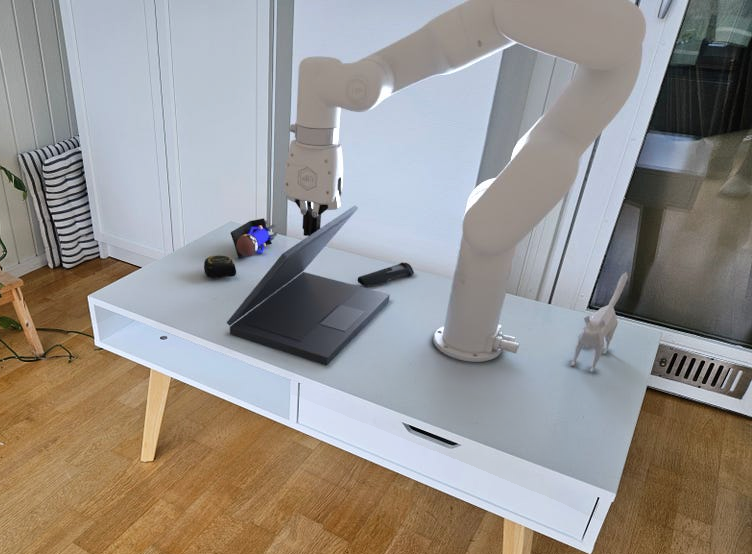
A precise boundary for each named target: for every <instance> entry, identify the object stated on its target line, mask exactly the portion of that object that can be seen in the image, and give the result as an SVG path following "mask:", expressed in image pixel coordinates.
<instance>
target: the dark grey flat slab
mask: <svg viewBox="0 0 752 554" xmlns="http://www.w3.org/2000/svg"><path fill="white" fill-rule="evenodd" d="M390 295H391V294H390V293H386V292H382V291H379V290H375V289H371V288H367V287H364V286H359V285H356V284H352V283H347V282H344V281H340V280H336V279H332V278H329V277H326V276H325V277H324V276H320V275H317V274H313V273H309V272H305V271H303V272H301V273H300V274H299V275H297V276H296V277H295V278H293V279H292V280H291V281H289V282H288V283H287V284H285V285H284V286H283V287H281V288H280V289H279V290H277V291H276V292H275V293H273V294H272V295H271V296H269V297H268V298H267V299H265V300H264V301H262V302H261V303H260V304H258V305H257V306H256V307H254V308H253V309H252V310H250V311H249V312H248V313H246V314H245V315H244V316H242V317H241V318H240V319H238V320H237V321H236V322H234V323H233V324H232V325H230V326H229V335H230V336H233V337H236V338H240V339H241V340H246V341H248V342H252V343H253V344H254V343H255V344H258V345H261V346H263V347H267V348H270V349H273V350H275V351H279V352H282V353H285V354H288V355H292V356H294V357H298V358H301V359H304V360H307V361H310V362H313V363H316V364H318V365H322V366H325V367H327V366H329V364H330V363H331V362H333V360H334V359H335V358H336V357H337V356H339V354H340V353H341V352H342V351H343V350H344V349H345V348H346V347H347V345H349V344H350V343H351V342H352V340H353V339H354V338H355V337H356V336H357V335H358V334H359V333H360V332H361V331H362V330H363V329H364V328H365V327H366V326H367V325H368V324H369V323H370V322H371V321H372V320H373V319H374V318H375V317H376V316H377V315H378V314H379V312H381V311H382V309H384V307H385V306H386V305H387V304H388V303H389V302H390V298H391V297H390Z"/></svg>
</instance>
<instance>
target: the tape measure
mask: <svg viewBox="0 0 752 554" xmlns="http://www.w3.org/2000/svg"><path fill="white" fill-rule="evenodd" d="M203 271H204V274H205V275H206V277H207V278H208V279H223V278H230V277H235V276H236V275H237V268H236V265H235V263H234V261H233V259H232V258H231V257H229V256H227V255H223V254H217V255H211V256H208V257H206V258H205V260H204V262H203Z"/></svg>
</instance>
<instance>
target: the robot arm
mask: <svg viewBox="0 0 752 554" xmlns="http://www.w3.org/2000/svg"><path fill="white" fill-rule="evenodd" d="M646 33H647V23H646V18H645V15H644V13H643V11H642V10H641V8H639V6H638V5H637V4H636V3H634V2H632V1H631V0H466V1H464V2H462V3H460V4H459V5H456V6H454V7H452V8H450V9H449V10H446V11H444V12H443V13H441V14H438V15H437V16H435V17H434V18H432V19H431V20H429V21H428V22H426V23H425V24H424V25H422V27H420V28H418V29H417V30H415V31H414V32H412V33H410V34H408V35H406V36H405V37H402V38H400V39H398V40H397V41H395V42H393V43H391V44H389V45H386V46H385V47H383V48H381V49H379V50H377V51H375V52H373V53H371V54H368V55H367V56H365V57H363V58H361V59H359V60H357V61H353V62H348V63H347V62H346V63H343V62H342V61H341V60H340V59H338V58H336V57H332V56H308V57H305V58H302V60H301V61H300V62H299V65H298V71H297V72H298V74H297V93H296V95H297V97H296V98H297V100H296V119H295V120H296V121H295V123H294V124H293V123H292V124H290V125H289V132H290V133H293V134H294V139H292V140H290V144H289V148H288V153H287V157H286V162H285V172H284V180H283V192H284V194H285V195H286V199H287V200H288V201H290V202H292V203H294V204H296V205H297V207H298V208H299V210H300V214H301V215H302V230H303V236H305V237H308V236H310V235H311V234H313V233H314V232H316V231H317V230H319V229H320V228H321V221H322V214H324V213H325V212H326V211H334V210H337V209H338V210H339V208H340V207H341V198H342V197H341V196H342V194H343V185H344V184H343V182H344V161H343V160H344V159H343V151H342V144H341V143H339V136H340V124H341V123H340V122H341V112H342V111H341V110H346V111H350V112H354V113H364V112H365V113H366V112H369V111H371V110H372V109H374V108H375V107H377V106H378V105H379V104H380V103H381V102H382V101H384V100H385V99H387V98H389V97H390V96H392V95H395V94H396V93H398V92H400V91H402V90H404V89H407V88H409V87H411V86H414V85H415V84H418V83H420V82H422V81H425V80H427V79H429V78H430V79H431V78H432V77H436V76H440V75H441V76H442V75H449V74H453V73H455V72H458V71H461V70H463V69H466V68H467V67H470V66H471V65H473V64H476V63H478V62H479V61H482V60H484V59H486V58H489V57H491V56H493V55H494V54H497V53H499V52H502V51H503V50H506V49H508V48H510V47H512V46H514V45H516V44H518V45H521V46H523V47H526V48H528V49H531V50H534V51H535V52H539V53H542V54H545V55H548V56H551V57H554V58H557V59H560V60H563V61H566V62H567V63H572V64H575V65H577V66H576V69H575V72H574V73H573V76H572V78H571V79H570V80H569V82H568V84H567V85H566V86H565V87H564V88H563V90H562V91H561V92H560V93H559V95H558V96H557V97H556V98H555V100H554V101H553V103H551V105H550V106H549V107H548V108H547V109H546V111H544V113H543V114H542V115H541V116H540V118H538V120H537V121H536V122H535V124H534V125H533V126H532V127H531V128H530V129H529V130H528V131H527V132H526V133H525V134H524V135H523V136H522V137H521V138H520V139H519V140H518V141H517V143H516V145H515V147H514V148H513V151H512V154H511V158H510V161H509V162H508V163H507V164H506V166H505V167H504V168H503V169H502V170H501V171H500V173H498V175H497V176H496V177H494V178H490V179H486V180H485V181H483V182H481V183H480V184H479V185H477V186H476V187H475V189H474V190H473V191H472V192H471V194H470V196H469V197H468V199H467V202H466V205H465V209H464V213H463V216H462V221H461V237H460V242H459V247H458V252H457V256H456V263H455V267H454V271H453V277H452V282H451V288H450V293H449V298H448V304H447V310H446V315H445V319H444V325H443V326H441V327H439V328H438V329H436V330H435V332H434V333H433V338H432V339H433V345H434V346H435V347H436V349H438V350H439V351H440V352H441V353H443V354H444V355H446V356H448V357H450V358H453V359H456V360H459V361H464V362H470V363H480V362H481V363H483V362H489V361H491V360H494V359H496V358H498V356H500V354H501V353H502V351H506V352H509V353H512V354H517V353H518V350H519V348H520V343H519V342H516V337H515V336H512V335H507V334H503V333H504V332H502V331H501V330H502V325H501V324H499V323H500V320H501V316H502V311H503V308H504V303H505V298H506V294H507V290H508V286H509V282H510V278H511V275H512V272H513V271H512V270H513V267H514V263H515V258H516V254H517V249H518V245H519V244H520V243H522V241H523V240H524V239H526V237H527V236H529V234H530V233H531V232H532V231H533V230H534V229H535V228H536V227H537V226H538V225H539V224H540V223H541V222H542V221H543V220H544V218H545V217H547V216H548V214H549V213H550V212H552V210H553V209H554V208H555V207H556V206H557V205H558V204H559V203H560V202H561V201H562V200H563V198H564V197H565V196H566V195H567V194H568V192H569V191H570V190H571V188H572V186H573V185H574V183H575V181H576V179H577V176H578V173H579V162H580V161H579V160H580V158H581V157H582V156H583V154H584V153H585V152H586V151H587V149H588V148H589V147H590V146H591V145H592V144H593V143H594V142H595V141H596V140H597V138H598V137H600V135H601V133H602V132H603V131H604V130H605V129H606V128H607V127H608V125H610V123H611V122H612V121H613V120H614V119H615V118H616V116H618V114H619V113H620V112H621V110H622V108H623V107H624V106H625V105H626V103H627V101H628V99H629V98H630V97H631V95H632V92H633V91H634V89H635V86H636V83H637V80H638V78H639V75H640V70H641V66H642V60H643V43H644V41H645V38H646Z"/></svg>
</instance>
